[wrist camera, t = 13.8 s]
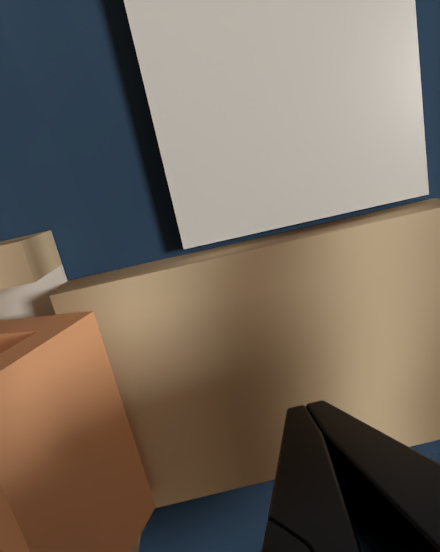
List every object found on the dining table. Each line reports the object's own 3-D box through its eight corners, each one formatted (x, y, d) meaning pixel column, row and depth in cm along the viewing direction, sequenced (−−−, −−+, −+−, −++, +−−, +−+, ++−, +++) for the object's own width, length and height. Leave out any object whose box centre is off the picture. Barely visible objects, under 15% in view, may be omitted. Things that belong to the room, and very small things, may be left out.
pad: (392, -113, 9) (405, -133, 9) (416, 193, 11) (429, 193, 11) (111, -55, 9) (106, -72, 9) (184, 245, 11) (183, 249, 11)
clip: (93, 311, 9) (-39, 396, 6) (155, 506, 11) (75, 655, 8) (-35, 323, 11) (-191, 395, 8) (35, 492, 12) (-72, 610, 9)
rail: (429, 145, 11) (481, 139, 9) (449, 438, 14) (493, 482, 12) (-311, 310, 10) (-425, 339, 9) (-147, 583, 13) (-205, 653, 11)
